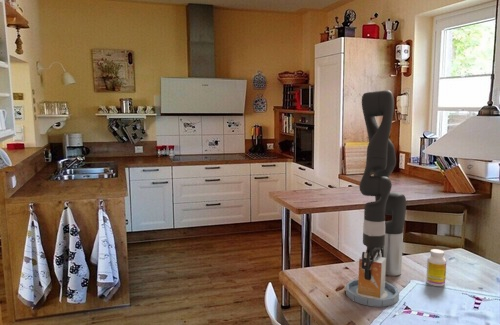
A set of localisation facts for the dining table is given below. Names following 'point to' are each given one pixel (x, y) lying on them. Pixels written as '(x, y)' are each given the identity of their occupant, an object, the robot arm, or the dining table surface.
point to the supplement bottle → (436, 268)
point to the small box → (373, 278)
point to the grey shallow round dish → (386, 299)
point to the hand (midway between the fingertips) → (372, 275)
